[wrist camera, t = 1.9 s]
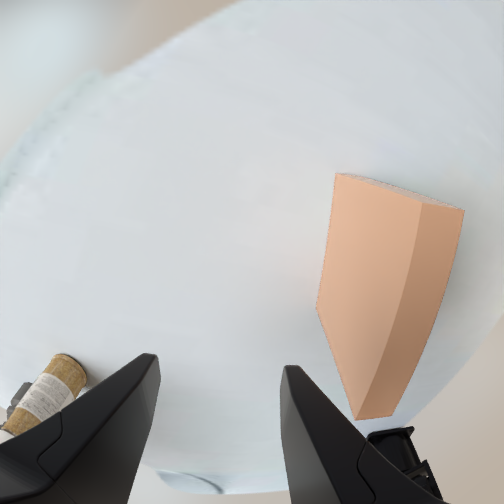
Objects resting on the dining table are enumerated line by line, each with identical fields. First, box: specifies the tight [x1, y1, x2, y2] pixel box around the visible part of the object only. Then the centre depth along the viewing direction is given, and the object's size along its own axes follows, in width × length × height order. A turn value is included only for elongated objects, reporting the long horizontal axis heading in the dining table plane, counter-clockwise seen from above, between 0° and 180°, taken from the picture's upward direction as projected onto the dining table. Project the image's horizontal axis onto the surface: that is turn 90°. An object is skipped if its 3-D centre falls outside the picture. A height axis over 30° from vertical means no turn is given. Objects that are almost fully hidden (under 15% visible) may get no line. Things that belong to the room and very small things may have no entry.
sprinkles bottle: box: [0, 354, 87, 444], centre depth 19 cm, size 5×5×14 cm
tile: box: [316, 173, 465, 421], centre depth 15 cm, size 2×10×11 cm, turn 176°
